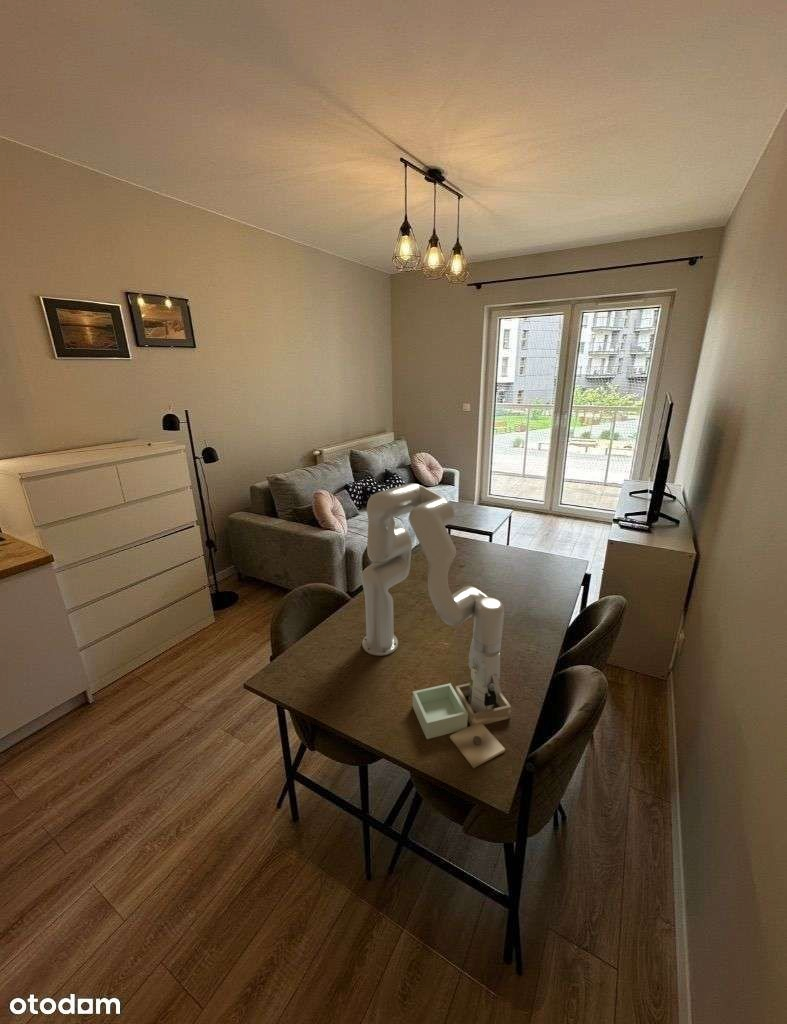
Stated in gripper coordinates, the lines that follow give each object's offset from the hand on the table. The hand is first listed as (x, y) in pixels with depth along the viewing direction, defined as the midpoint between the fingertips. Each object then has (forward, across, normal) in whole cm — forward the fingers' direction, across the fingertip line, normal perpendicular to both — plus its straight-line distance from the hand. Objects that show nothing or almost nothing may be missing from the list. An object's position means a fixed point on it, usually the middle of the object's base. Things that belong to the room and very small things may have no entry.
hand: (482, 693), depth 118 cm
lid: (+5, +11, -7) cm, 14 cm away
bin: (+5, 0, -13) cm, 14 cm away
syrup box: (+5, 0, 0) cm, 5 cm away
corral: (+5, 0, 0) cm, 5 cm away
